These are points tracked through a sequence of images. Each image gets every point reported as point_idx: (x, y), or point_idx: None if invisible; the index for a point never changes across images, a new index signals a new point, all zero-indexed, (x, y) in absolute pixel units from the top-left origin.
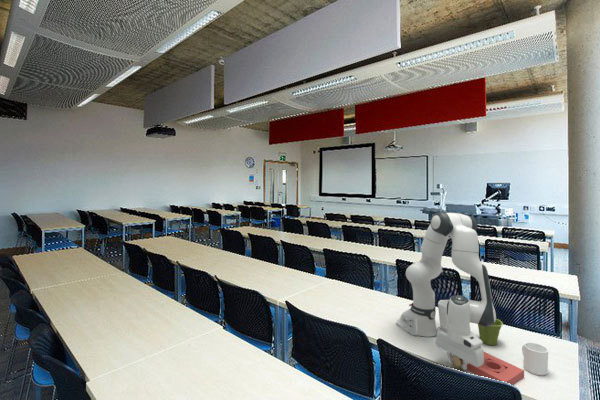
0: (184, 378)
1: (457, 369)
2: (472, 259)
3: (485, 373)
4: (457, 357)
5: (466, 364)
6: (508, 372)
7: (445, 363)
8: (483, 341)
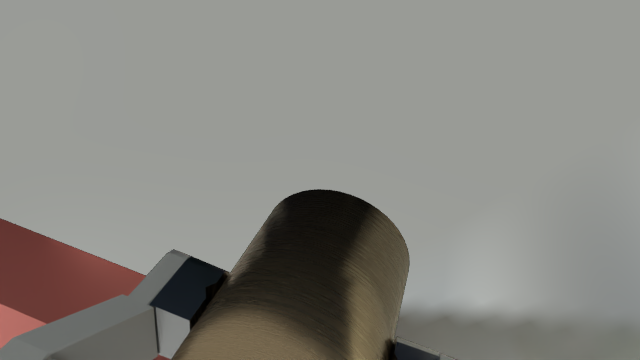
0: None
1: (286, 230)
2: None
3: (36, 300)
4: None
5: (48, 328)
6: None
7: (549, 341)
8: None
